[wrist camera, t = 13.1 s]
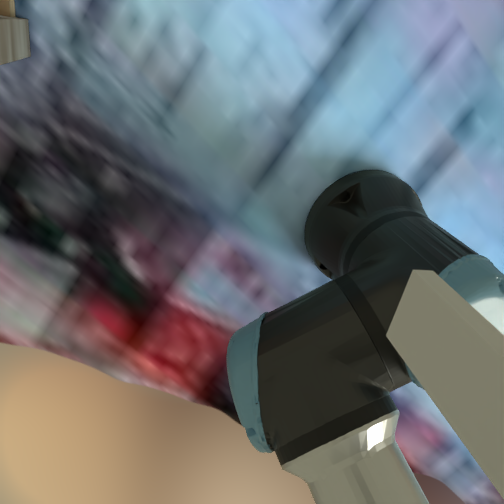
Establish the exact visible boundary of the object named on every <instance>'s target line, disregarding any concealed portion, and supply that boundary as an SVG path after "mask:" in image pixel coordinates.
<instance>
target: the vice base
mask: <svg viewBox="0 0 504 504" xmlns="http://www.w3.org/2000/svg"><path fill="white" fill-rule="evenodd" d="M27 57H31V55H30V40H29V25H28V19H23V18H17V17H15V4H14V0H0V65H3V64H6V63H10V62H13V61H17V60H20V59H24V58H27Z"/></svg>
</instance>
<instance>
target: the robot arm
mask: <svg viewBox="0 0 504 504" xmlns="http://www.w3.org/2000/svg"><path fill="white" fill-rule="evenodd" d="M305 244H306V248H307V251H308V253H309V255H310V257H311V259H312V260H313V262H314V263H315V265H316V266H317V267H318V269H319V270H320V271H321V272H322V273H323V274H325V275H326V276H327V277H329V278H330V279H332V281H330V282H328V283H326V284H324V285H322V286H320V287H318V288H316V289H314V290H312V291H311V292H309V293H307V294H305V295H303V296H301V297H299V298H297V299H295V300H293V301H291V302H289V303H287V304H285V305H283V306H281V307H279V308H277V309H275V310H273V311H271V312H269V313H268V312H265V313H263V314H262V315H261V316H260V317H259V318H258V319H256V320H254V321H253V322H251V323H249V324H248V325H246V326H244V327H242V328H241V329H239V330H238V331H236V332H235V333H234V334H233V336H232V337H231V339H230V341H229V344H228V349H227V372H228V378H229V384H230V389H231V393H232V397H233V400H234V404H235V407H236V410H237V413H238V416H239V419H240V422H241V424H242V426H243V427H245V429H246V433H247V436H248V438H249V440H250V442H251V443H252V445H253V446H254V447H255V448H256V449H257V450H258V451H260V452H267V453H272V452H273V451H275V452H276V455H277V457H278V459H279V462H280V464H281V467H282V469H283V470H285V471H287V472H289V473H291V474H293V475H296V476H298V477H300V478H302V479H303V480H304V481H305V482H306V483H307V484H308V486H309V489H310V491H311V493H312V496H313V498H314V501H315V503H316V504H429V502H428V500H427V499H426V497H425V495H424V493H423V491H422V489H421V487H420V486H419V484H418V482H417V480H416V478H415V477H414V474H413V473H412V471H411V469H410V467H409V465H408V463H407V462H406V460H405V458H404V456H403V454H402V452H401V450H400V449H399V447H398V445H397V443H396V441H395V430H396V426H397V422H398V417H399V411H398V409H397V407H396V406H395V404H394V402H393V400H392V398H391V397H390V395H389V394H390V392H391V391H393V390H395V389H397V388H399V387H401V386H403V385H405V384H408V383H410V382H412V381H413V383H415V384H416V385H417V386H418V387H421V388H422V389H424V390H425V391H426V392H427V394H428V395H429V396H430V398H431V399H432V400H433V402H434V403H435V405H436V406H437V407H438V409H439V410H440V412H441V413H442V414H443V416H444V417H445V419H446V420H447V421H448V423H449V424H450V425H451V427H452V428H453V430H454V431H455V432H456V434H457V435H458V437H459V438H460V439H461V441H462V442H463V443H464V445H465V446H466V448H467V449H468V450H469V452H470V453H471V455H472V456H473V457H474V459H475V460H476V462H477V463H478V464H479V466H480V467H481V468H482V470H483V471H484V473H485V474H486V475H487V477H488V478H489V480H490V481H491V482H492V484H493V485H494V487H495V488H496V489H497V491H498V492H499V493H500V495H501V496H502V498H503V499H504V274H503V273H501V272H500V271H499V270H498V269H497V268H496V267H495V266H494V265H493V263H492V262H490V260H489V259H487V258H486V257H484V256H481V255H479V254H478V253H476V252H475V251H473V250H472V249H471V248H469V247H468V246H466V245H465V244H464V243H462V242H461V241H459V240H458V239H457V238H455V237H454V236H452V235H451V234H450V233H448V232H447V231H445V230H444V229H443V228H441V227H440V226H438V225H437V224H436V223H434V222H433V221H431V220H430V219H429V218H428V216H427V215H426V213H425V211H424V209H423V207H422V204H421V202H420V199H419V197H418V195H417V194H416V192H415V191H414V190H413V189H412V188H411V187H410V186H409V185H408V184H407V183H405V182H404V181H402V180H401V179H399V178H398V177H396V176H395V175H393V174H391V173H388V172H384V171H380V170H365V171H359V172H355V173H352V174H349V175H347V176H345V177H343V178H341V179H339V180H338V181H336V182H335V183H333V184H332V185H331V186H329V187H328V188H327V189H326V190H325V191H324V192H323V193H322V194H321V195H320V196H319V198H318V199H317V200H316V202H315V203H314V205H313V206H312V208H311V210H310V212H309V215H308V217H307V221H306V225H305Z"/></svg>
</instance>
